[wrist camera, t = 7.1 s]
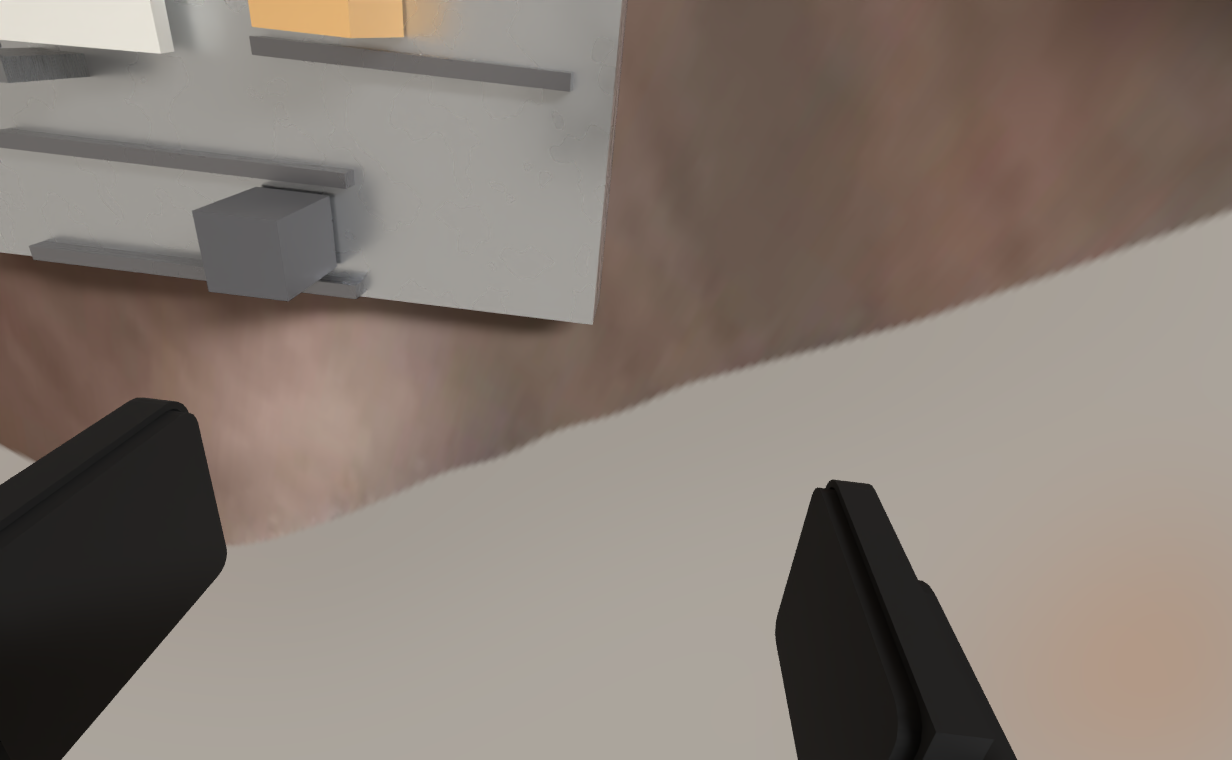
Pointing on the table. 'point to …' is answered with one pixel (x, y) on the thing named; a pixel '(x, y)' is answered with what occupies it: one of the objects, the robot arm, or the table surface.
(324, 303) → the table surface
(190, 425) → the robot arm
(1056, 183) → the table surface
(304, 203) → the fader knob
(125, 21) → the plate
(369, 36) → the orange block
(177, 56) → the panel
